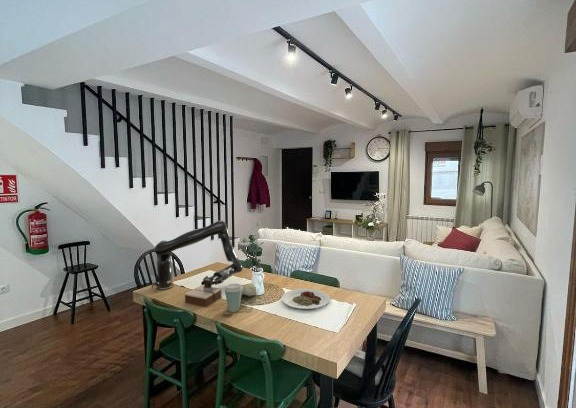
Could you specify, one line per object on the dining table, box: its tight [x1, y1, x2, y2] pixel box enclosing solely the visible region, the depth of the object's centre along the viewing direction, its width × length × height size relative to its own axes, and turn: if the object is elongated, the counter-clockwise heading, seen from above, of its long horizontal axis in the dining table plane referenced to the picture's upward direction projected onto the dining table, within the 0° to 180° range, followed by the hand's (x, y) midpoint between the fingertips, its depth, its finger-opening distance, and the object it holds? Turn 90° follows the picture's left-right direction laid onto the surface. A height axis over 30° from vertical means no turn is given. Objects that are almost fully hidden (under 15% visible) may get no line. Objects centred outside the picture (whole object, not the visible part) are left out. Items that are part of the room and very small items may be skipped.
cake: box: [184, 285, 222, 308], centre depth 199 cm, size 16×15×6 cm
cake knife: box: [203, 279, 213, 293], centre depth 197 cm, size 7×2×14 cm, turn 66°
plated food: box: [281, 288, 331, 310], centre depth 195 cm, size 30×30×3 cm
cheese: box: [241, 282, 257, 298], centre depth 206 cm, size 15×7×15 cm
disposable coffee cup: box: [223, 283, 244, 313], centre depth 184 cm, size 11×11×15 cm
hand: (205, 284), depth 194 cm, fingers open, 4 cm apart
